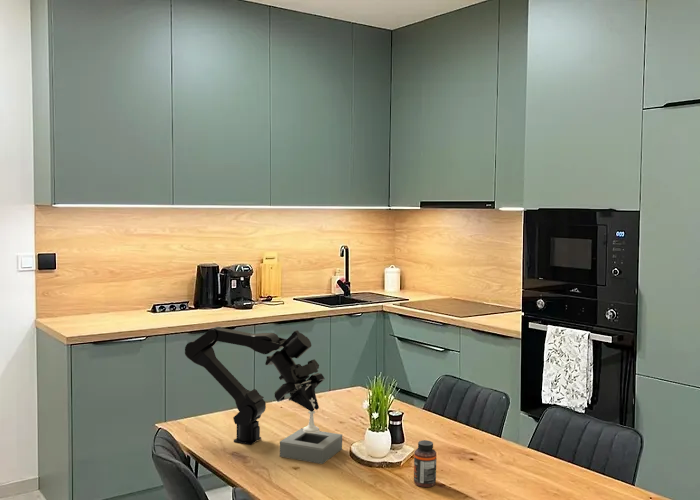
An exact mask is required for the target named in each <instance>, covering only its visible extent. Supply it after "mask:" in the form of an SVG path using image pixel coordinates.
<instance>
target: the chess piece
mask: <svg viewBox="0 0 700 500" xmlns="http://www.w3.org/2000/svg"><path fill="white" fill-rule="evenodd" d="M310 402H311V404H312V405H313V408H314V407H315V404H314V403H313V402H315V400H313V398H311V400H310ZM314 409H315V408H314ZM307 413H308V414H309V418H308V423H307V426H304V427H303V431H304V432H306V433H317V432H319V431H320V427H319V426H317V425H315V420H314V418H315V417H314V414H316V411H315V410H314V411H312V412H311V411H310V410H308V412H307Z"/></svg>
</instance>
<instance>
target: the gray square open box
mask: <svg viewBox="0 0 700 500" xmlns="http://www.w3.org/2000/svg"><path fill="white" fill-rule="evenodd" d="M303 428H304V427H303ZM303 428H299V429H298V430H297V431H295V432H293V433H292V434H290V435H288V436H287V437H285V438H283V439H281V440H280V441H279V457H281V458H285V459H286V458H287V459H292V460H297V461H304V462H310V463H315V464H320V465H323V464H325V462H327V461H329V459H331V458H332V457H334V456H335V455H336V454H337V453H339V452H341V451H342V450H343V434H341V433H336V432H335V433H334V432H329V431H328V432H327V431H322V430H319V432H317V433H306V432H304V431H303Z"/></svg>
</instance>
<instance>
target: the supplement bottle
mask: <svg viewBox="0 0 700 500" xmlns="http://www.w3.org/2000/svg"><path fill="white" fill-rule="evenodd" d="M413 456H414V457H413V458H414V459H413V460H414V461H413V482H414V484H415V485H416V486H418V487H422V488H431V487H433V486H435V485H436V483H437V456H438V455H437V451H436V450H435V449H434V442H433V441H431V440H426V439H425V440H424V439H423V440H419V441H418V442H417V448H416V449H415V450H414V455H413Z"/></svg>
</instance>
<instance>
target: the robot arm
mask: <svg viewBox="0 0 700 500" xmlns="http://www.w3.org/2000/svg"><path fill="white" fill-rule="evenodd" d="M218 342H220V343H227V344H231V345H237V346H240V347H241V346H243V347H247V348H249V349H250V350H252V351H254V352H257V353H259V354H262V355H267V356H266V359H265V362H264V363H265V366H270V365H274V367H275V369H276V370H277V372H278V373H279V374H280V376H279V377H278V379H279V380H280V381H282V380H283V381H284V383H283V384H282V385H280V387H278V389H277V390H275V392H274V399H275V400H276V401H277V403H279V402H282V401H284V400H285V396H286V395H289V398H288V401H291V402H293V403H295V404H297V405H300V406H301V407H302V408H304V409H306V410H308V411H311V412H312V411H315V410H316V411H317V410H318V409H319V408H320V406H319V402H318V399H317V395H316V388H318V386H320V384H322V382H323V381H324V380H325V377H324V375H323V374H322V373H320V372H319V368H320V364H319V363H318V362H317V360H316V359H311V360H308V361H307V364H304V365H301V363H296V362H295V360H294V358H295V359H299V358H300V357H301V356H302V355H304V354H305V353H306V352H307V351H308V350H309V349H310V348H311V347H312V342H311V340H310V339H309V338H308V336H306V335H305V334H303V333H301V332H299V330H297V329H296V330H295V331H293V332H292V333H291V335H290V336H289V337H288V338H285V337H280V336H279V335H278V334H277V333H275V332H260V333H253V332H245V331H239V330H234V329H229V328H223V327H221V326H215V327H211V328H210V329H208V330H207V331H206V332H205V333H204V334H202V335H201V336H200V337H198V338H197V339H195V340H192V341H190V342H188V343H187V344H186V345H185V347H184V355H185V356H186V358H187V359H189V361H191V362H192V363H194V364H195V365H197V366H200V367H202V368H204V369H205V370H206V372H208V373H209V374H210V375H211V376H212V377H213V379H214V380H215V381H216V382H218V383H217V384H219V385H221V387H222V388H223V389H224V390H225V391H226V392H227V393H228V395H230V396H231V397H232V399H233V400H234V401H235V405H236V409H237V410H238V412H237V414H235V415H234V416H233V422H234V424H235V425H236V438H235V439H233V442H234V443H238V444H239V443H240V444H245V445H253V444H254V443H257V442H258V441H260V440H261V439H262V437H261V433H260V432H261V429H260V428H261V426H260V423H259V422H260V421H259V419H260V418H261V416H262V414H263V413H265V411H266V410H267V409H266V408H267V407H266V406H267V405H266V404H267V403H266V401H265V399H264V396H262V395H261V394H260V393H259V391H258V390H257V389H255V388H254V389H252V390H250V389H247V388H246V387H245V386H244V385H243V384H242V383H241V382H240V381H239V380H238V378H236V377H235V376H234V375H233V374H232V373H231V371H229V370H228V368H227V367H226V366H225V365H224V364H223V362H221V361H220V360H219V359H218V358H217V357H216V353H215V350H214V348H213V347H214V346H215V345H216V344H217V343H218ZM273 352H274V353H273ZM271 353H273V354H271ZM269 354H271V355H269ZM311 398H313V400H315V402H313V403H314V404H315V407H314V408H313V405H312V404H311V402H310V400H311Z"/></svg>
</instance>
